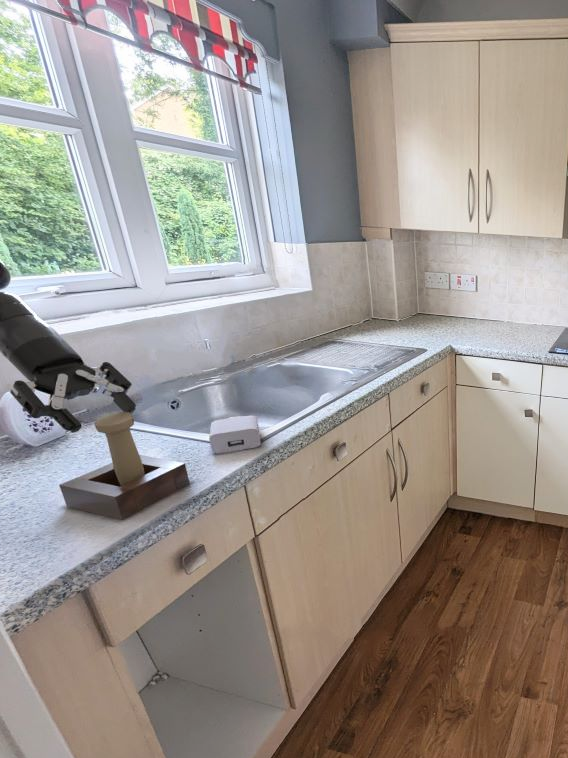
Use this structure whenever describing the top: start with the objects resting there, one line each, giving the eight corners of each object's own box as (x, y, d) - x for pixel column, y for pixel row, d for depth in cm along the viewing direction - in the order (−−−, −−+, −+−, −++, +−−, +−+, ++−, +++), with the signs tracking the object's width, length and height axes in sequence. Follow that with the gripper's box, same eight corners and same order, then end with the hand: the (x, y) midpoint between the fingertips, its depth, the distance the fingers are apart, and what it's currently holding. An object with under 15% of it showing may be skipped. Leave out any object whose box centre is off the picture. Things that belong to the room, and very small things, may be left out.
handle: (115, 504, 81) (89, 427, 75) (124, 487, 86) (101, 414, 80) (149, 498, 83) (126, 423, 77) (156, 481, 88) (135, 410, 83)
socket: (122, 519, 77) (115, 496, 75) (66, 507, 79) (58, 484, 78) (190, 483, 88) (185, 463, 86) (139, 473, 90) (133, 453, 89)
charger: (258, 423, 116) (261, 446, 104) (215, 429, 111) (212, 454, 99) (255, 406, 114) (257, 427, 102) (211, 411, 109) (208, 435, 97)
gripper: (-14, 343, 69) (65, 423, 70) (91, 328, 82) (156, 395, 83) (-27, 372, 72) (49, 448, 73) (77, 353, 85) (140, 418, 86)
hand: (106, 420), depth 78 cm, fingers open, 8 cm apart
